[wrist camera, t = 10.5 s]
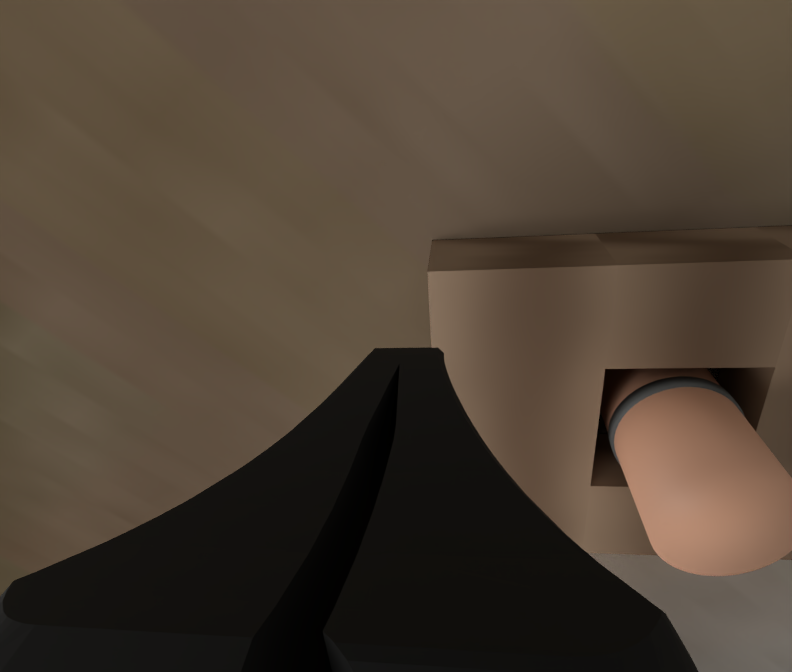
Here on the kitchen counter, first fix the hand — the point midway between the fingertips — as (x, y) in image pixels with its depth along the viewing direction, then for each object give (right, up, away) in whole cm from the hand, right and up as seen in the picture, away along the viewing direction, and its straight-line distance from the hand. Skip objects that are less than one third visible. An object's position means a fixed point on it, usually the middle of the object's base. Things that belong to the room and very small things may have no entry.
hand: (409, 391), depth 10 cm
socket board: (+9, -1, +10) cm, 14 cm away
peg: (+9, -1, +10) cm, 14 cm away
